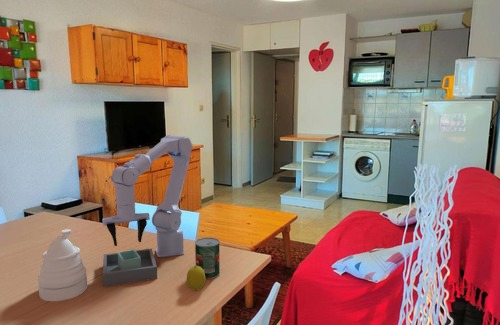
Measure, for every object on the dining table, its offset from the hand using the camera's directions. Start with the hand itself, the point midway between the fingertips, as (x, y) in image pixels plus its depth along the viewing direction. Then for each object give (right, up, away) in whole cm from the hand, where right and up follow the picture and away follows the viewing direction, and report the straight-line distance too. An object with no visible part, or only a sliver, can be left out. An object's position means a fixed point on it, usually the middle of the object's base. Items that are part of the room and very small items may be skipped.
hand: (127, 243), depth 122 cm
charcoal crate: (+1, -10, 0) cm, 9 cm away
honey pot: (-15, -12, -12) cm, 23 cm away
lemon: (+25, -12, -12) cm, 30 cm away
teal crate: (+1, -9, 0) cm, 9 cm away
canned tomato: (+27, -10, -1) cm, 29 cm away
